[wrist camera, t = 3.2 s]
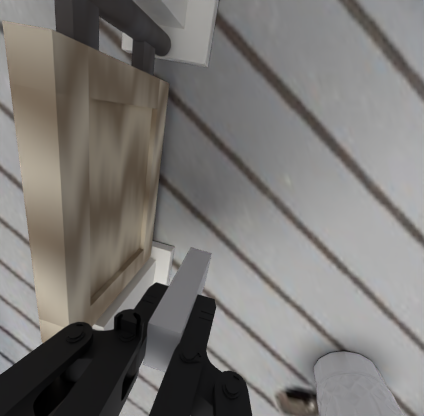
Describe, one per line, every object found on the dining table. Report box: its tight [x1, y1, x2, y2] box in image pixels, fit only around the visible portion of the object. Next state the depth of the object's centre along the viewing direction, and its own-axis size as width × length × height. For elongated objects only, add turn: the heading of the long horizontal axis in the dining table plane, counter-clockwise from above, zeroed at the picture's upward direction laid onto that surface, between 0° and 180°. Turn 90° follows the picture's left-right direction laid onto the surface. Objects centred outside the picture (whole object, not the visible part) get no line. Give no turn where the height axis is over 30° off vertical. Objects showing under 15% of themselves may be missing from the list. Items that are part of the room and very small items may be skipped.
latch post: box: [92, 241, 174, 330], centre depth 21 cm, size 6×6×11 cm
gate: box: [2, 0, 171, 343], centre depth 16 cm, size 20×2×11 cm, turn 169°
